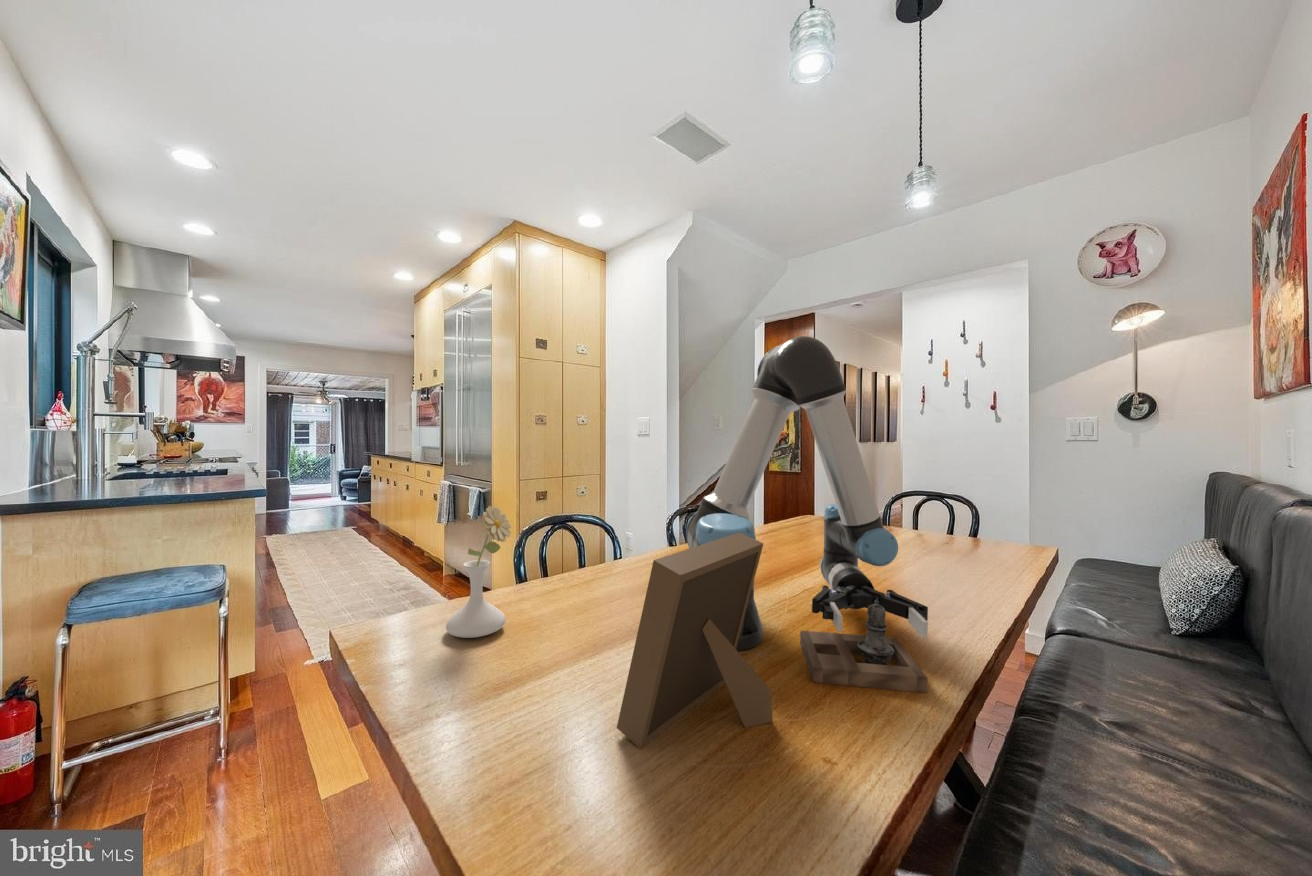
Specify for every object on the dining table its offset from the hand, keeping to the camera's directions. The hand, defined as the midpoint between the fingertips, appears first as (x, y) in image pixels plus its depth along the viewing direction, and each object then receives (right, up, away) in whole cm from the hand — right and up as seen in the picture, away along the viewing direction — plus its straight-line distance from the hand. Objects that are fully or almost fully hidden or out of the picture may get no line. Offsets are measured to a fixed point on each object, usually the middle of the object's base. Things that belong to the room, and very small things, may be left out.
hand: (882, 627), depth 81 cm
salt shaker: (0, -9, +3) cm, 9 cm away
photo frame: (-31, -9, -12) cm, 34 cm away
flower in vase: (-74, -7, +16) cm, 76 cm away
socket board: (-3, -8, +4) cm, 10 cm away
